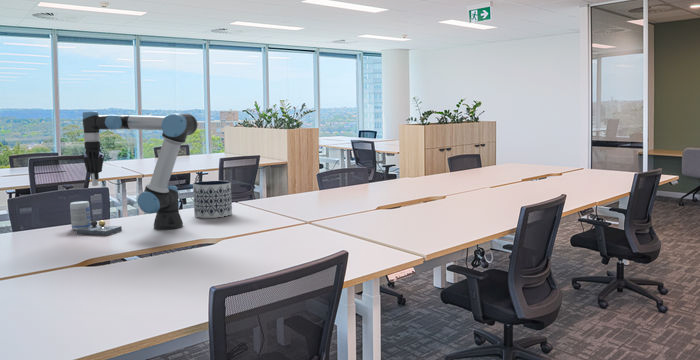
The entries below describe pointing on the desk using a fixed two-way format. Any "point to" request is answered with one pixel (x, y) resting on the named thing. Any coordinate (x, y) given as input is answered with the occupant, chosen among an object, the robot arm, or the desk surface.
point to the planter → (212, 199)
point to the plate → (96, 230)
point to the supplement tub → (80, 214)
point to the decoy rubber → (94, 223)
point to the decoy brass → (101, 223)
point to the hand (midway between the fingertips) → (95, 185)
